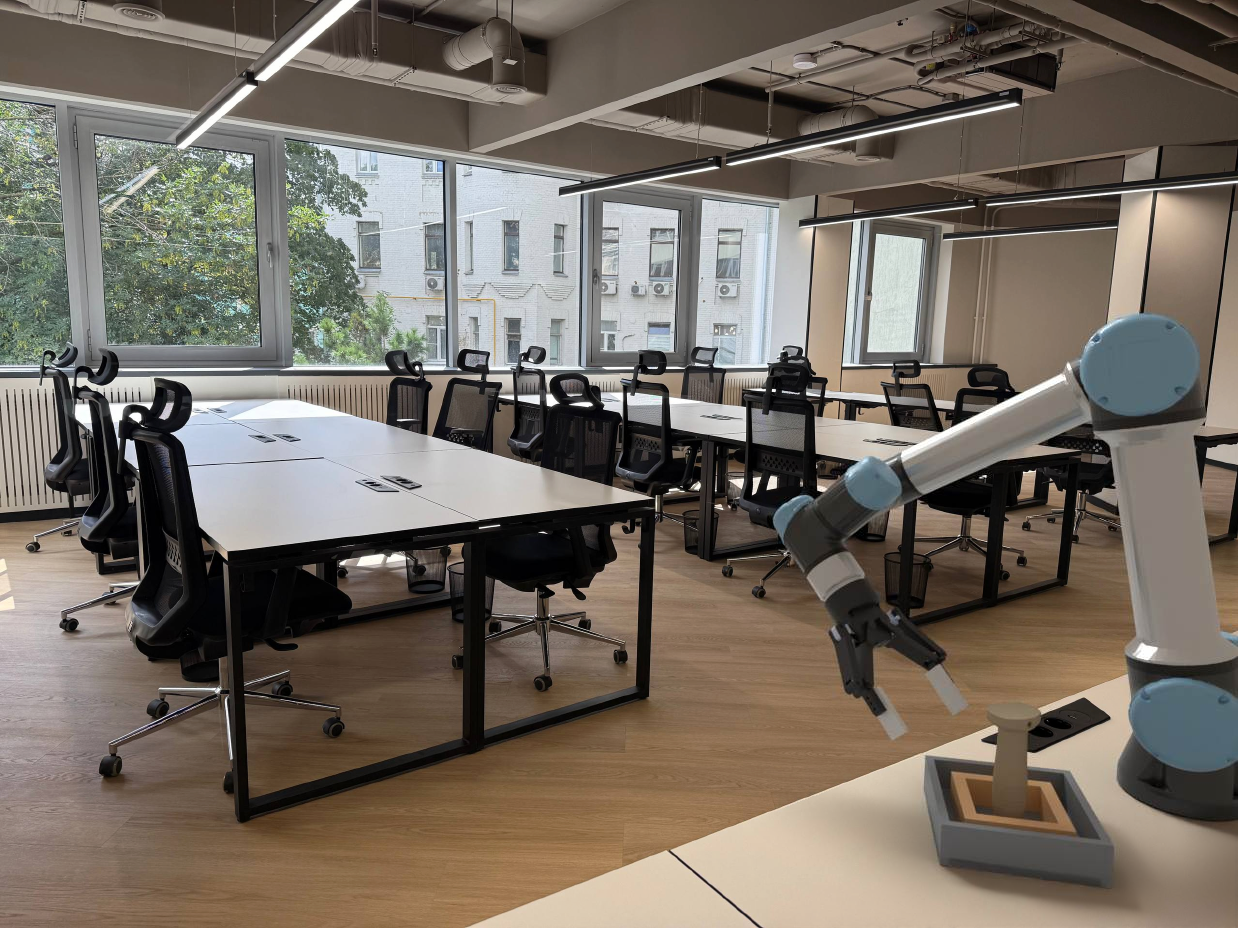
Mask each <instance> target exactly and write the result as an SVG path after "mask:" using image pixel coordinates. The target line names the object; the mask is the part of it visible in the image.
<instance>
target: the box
mask: <svg viewBox="0 0 1238 928" xmlns="http://www.w3.org/2000/svg"><path fill="white" fill-rule="evenodd" d="M994 763H995V761H994V762H993V761H984V760H975V759H964V758H956V757H947V756H946V757H945V756H936V755H928V754H927V755H926V754H925V755H924V773H923V774H924V775H923V777H924V778H923V792H924V797H925V802H926V807H927V811H928V812H927V813H928V817H929V821H930V826H931V831H932V836H933V840H934V845H935V849H936V853H937V854H936V855H937V859H938V864H939V866H947V867H953V868H954V867H955V868H959V869H960V868H963V869H969V870H976V871H983V872H990V873H998V874H1005V875H1010V876H1011V875H1013V876H1019V877H1027V878H1034V879H1042V880H1046V881H1047V880H1049V881H1054V882H1055V881H1056V882H1062V883H1069V884H1077V885H1085V886H1091V887H1097V888H1098V887H1099V888H1106V889H1111V888H1112V881H1113V879H1112V878H1113V864H1114V849H1115V846H1114V844H1113V842H1112V841H1111V839H1110V837H1109V835H1108V834H1107V832H1106V830H1105V828H1104V827H1103V825H1102V824H1101V821H1100V820H1099V818H1098V816H1097V815H1096V813H1095V811H1094V810H1093V808H1092V806H1091V804H1090V803H1089V801H1088V799H1087V797H1086V795H1085V794H1084V792H1083V791H1082V789H1081V787H1080V786H1079V784H1078V782H1077V781H1076V778H1075V777H1074V775H1073V773H1072V772H1071V770H1066V769H1059V768H1048V767H1039V766H1037V767H1036V766H1031V765H1027V773H1028V786H1027V799H1026V806H1025V811H1024V815H1023V819H1017V818H1008V817H1000V816H993V815H995V812H994V810H993V802H992V784H993V783H992V781H993V771H994Z"/></svg>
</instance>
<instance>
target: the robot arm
mask: <svg viewBox="0 0 1238 928" xmlns="http://www.w3.org/2000/svg"><path fill="white" fill-rule="evenodd" d="M1200 367H1201V353H1200V349H1199V345H1198V342H1197V341H1196V339H1195V337H1194V336H1193V334H1192V333H1191V332H1190V331H1189V330H1188V328H1187V327H1185V326H1184V324H1182V323H1180V322H1179V321H1177V320H1176V319H1174V318H1171V317H1169V316H1165V315H1162V314H1161V313H1160V314H1159V313H1152V312H1151V313H1150V312H1143V313H1131V314H1128V315H1125V316H1122V317H1118V318H1115V319H1114V320H1111V321H1109V322H1107V323H1106V324H1105V325H1103V326H1101V328H1099V329H1098V330H1097V331H1096V332H1095V333H1094V334H1093V335H1092V336H1091V338H1090V339H1089V340H1088V341H1087V344H1086V345H1085V346H1084V349H1083V352H1082V354H1081V355H1079V356H1077V357H1074V358H1073V359H1070V361H1067V362H1066V364H1065V367H1064V369H1063V371H1062V372H1061V373H1060V374H1058V375H1055V376H1053V377H1051V378H1049V379H1047V380H1045V381H1043V382H1040V383H1039V384H1036V385H1035V386H1032V387H1031V388H1028V389H1027V390H1025V391H1023V392H1020V393H1019V394H1016V395H1015V396H1013V397H1010V398H1008V399H1006V400H1004V401H1003V402H1000V403H998V404H996V405H994V406H992V407H990V408H988V409H987V410H986V409H985V410H984V411H982V412H980V413H978V414H976V415H974V416H972V417H970V418H968V419H965V420H963V421H962V422H959V423H957V424H955V425H953V426H952V427H949V428H948V429H945V430H943V431H941V432H940V433H937V434H935V435H933V436H931V437H929V438H927V439H924V440H923V441H921V442H919V443H917V444H915V445H913V446H911V447H909V448H907V449H905V450H903V451H902V452H898V453H897V454H894V455H892V456H890V457H888V458H886V459H884V460H882V459H880V458H877V457H875V456H873V455H867V456H864V457H863V458H861V459H860V460H859V461H857V462H856V463H855V464H854V465H851V466H850V467H849V468H847V470H846V472H845V473H843V475H840V477H839V478H838V479H837V480H835V481H834V482H833V483H831V485H830V486H829V487H828V488H827V489H826V490H825V491H823V492H822V493H821V494H820V495H819V496H817V498H815V499H814V498H813V496H810V495H807V494H805V495H804V494H803V495H798V496H796V497H794V498H792V499H790V500H789V501H788V502H785V503H783V504H782V505H781V506H780V507H779V508H778V509H777V510H776V512H775V513H774V516H773V518H772V520H773V521H772V523H773V526H774V528H775V530H776V532H777V534H778V535H779V537H780V539H781V542H782V544H783V545H784V546H785V548H786V549H787V550H788V552H789V553H790V554H791V556H792V558H793V559H794V560H795V562H796V564H797V565H798V567H799V568H800V570H801V571H802V572H803V574H804V576H805V578H806V579H807V581H808V582H809V584H810V585H811V587H812V588H813V590H814V592H815V593H816V594H817V597H818V598H819V599H820V601H822V602H824V608H825V610H826V611H827V613H828V614H829V616H830V618H831V619H832V621H833V623H834V624H835V625H834V626H833V627H832V628H830V629H829V630H828V635H829V638H830V639H831V641H832V643H833V646H834V649H835V655H836V657H837V658H836V659H837V663H838V667H839V670H840V671H839V673H840V676H841V680H842V686H843V691H844V692H845V694H847V695H852V696H853V697H854V699H858V700H859V699H860V698H862V699H863V700H864V701H865V703H866V705H867V707H868V709H869V710H870V711H871V714H872V715H873V716H874V717H875V718H877V719H878V720H879V722H880V724H881V725H882V726H883V729H884V730H885V731H886V733H887V734H888V735H887V736H888V737H889V738H890V740H891V741H892V742H893V741H895V740H897V739H899V738H900V737H901V736H903V735H904V734H906V733H907V732H909V731H910V730H909V729H908V727H907V725H906V723H905V722H904V721H903V719H902V718H901V716H900V715H899V713H898V711H897V710H896V708H895V707H894V705H893V703H892V702H891V700H890V699H889V697H888V696H887V694H886V692H885V691H884V689H883V687H882V686H881V685H878V686H875V677H874V675H875V673H874V650H875V649H876V648H878V649H880V648H883V647H885V648H887V649H892V650H894V651H896V652H898V653H899V654H900V655H902V656H904V657H906V658H907V659H908V660H910V661H911V662H914V663H915V664H916V665H918V666H920V667H921V668H923V669H924V670H926V671H927V672H925V673H924V675H925V677H926V679H927V680H928V681H929V682H930V685H932V687H933V689H934V690H935V692H936V694H938V696H939V697H940V699H941V700H942V702H943V704H944V705H945V707H946V708H947V709H948V711H949V712H950V714H951V715H952V716H955V715H956V714H959V713H960V712H961V711H963V710H965V708H967V707H969V704H968V702H967V701H966V699H965V698H964V697H963V694H961V692H960V690H959V689H958V687H957V686H956V685H955V683H954V680H953V678H952V677H951V676H950V674H949V673H948V671H947V670H946V669H945V667H944V666H943V663H944V662H945V661H946V659H947V658H946V657H947V656H948V655H947V652H946V651H945V650H944V649H943V648H942V647H941V646H940V645H939V644H937V643H936V642H935V641H934V640H932V639H931V637H929V636H928V635H927V634H926V633H925V632H923V630H921V629H920V628H918V627H917V625H915V624H914V623H913V622H911V621H910V620H909V619H908V618H907V617H906V615H905V614H904V613H903V612H902V611H901V609H900V608H899V607H898V606H893V607H892V608H891V609H890V610H889V611H887V612H885V611H884V610H883V609H882V608H881V605H880V602H881V595H880V594H879V593H878V592H877V590H876V589H875V587H874V586H873V584H872V583H871V581H870V580H869V579H867V578H865V576H866V575H865V572H864V570H863V569H862V567H861V566H860V564H859V563H858V562H857V560H856V558H855V557H854V556H853V554H852V553H851V552H850V550H849V549H848V547H847V546H846V544H845V541H846V540H847V539H849V538H850V537H851V536H853V534H855V533H856V532H857V531H859V529H860V530H861V528H862V527H864V526H865V525H866V524H868V523H869V522H870V521H871V520H873V519H874V518H877V517H878V516H881V515H883V514H885V513H887V512H890V511H892V510H895V509H897V508H899V507H902V506H904V505H905V504H907V503H910V502H912V501H914V500H915V499H919V498H921V497H922V496H924V495H927V494H929V493H931V492H934V491H935V490H937V489H940V488H943V487H944V486H947V485H949V484H951V483H953V482H955V481H956V482H957V481H958V480H960V479H962V478H964V477H967V476H969V475H971V474H974V473H975V472H978V471H980V470H983V469H985V468H987V467H989V466H991V465H993V464H995V463H998V462H1000V461H1002V460H1005V459H1007V458H1009V457H1011V456H1013V455H1016V454H1017V453H1020V452H1022V451H1025V450H1027V449H1030V448H1032V447H1034V446H1036V445H1038V444H1040V443H1042V442H1045V441H1048V440H1049V439H1051V438H1054V437H1056V436H1058V435H1060V434H1062V433H1065V432H1068V431H1070V430H1071V429H1074V428H1076V427H1078V426H1081V425H1083V424H1085V423H1087V422H1091V424H1092V431H1093V434H1094V435H1096V436H1097V437H1098V438H1100V439H1101V440H1102V441H1104V442H1105V443H1106V444H1108V446H1109V449H1110V455H1111V456H1110V457H1111V462H1112V469H1113V470H1112V471H1113V472H1112V473H1113V477H1114V478H1113V479H1114V484H1115V485H1114V486H1115V492H1116V498H1117V499H1116V500H1117V505H1118V512H1119V519H1120V520H1119V521H1120V526H1121V527H1120V528H1121V534H1122V542H1123V548H1124V549H1123V550H1124V555H1125V561H1126V570H1127V577H1128V583H1129V590H1130V597H1131V604H1132V605H1131V606H1132V612H1133V617H1134V618H1133V619H1134V626H1135V633H1136V634H1135V637H1134V638H1132V640H1130V641H1129V643H1128V644H1127V645H1126V646H1125V647H1124V653H1125V654H1124V655H1125V656H1124V657H1125V663H1126V670H1127V676H1128V678H1127V679H1128V683H1129V684H1128V686H1129V691H1130V702H1129V705H1128V706H1129V708H1128V710H1127V711H1128V712H1127V715H1128V721H1129V724H1130V726H1131V730H1132V733H1131V734H1130V736H1129V739H1128V740H1127V743H1126V744H1125V746H1124V748H1123V750H1122V753H1121V754H1120V756H1119V758H1118V760H1117V764H1116V765H1117V766H1116V767H1117V768H1116V781H1117V783H1118V785H1119V786H1120V787H1121V788H1122V789H1123V790H1124V791H1125V792H1127V793H1128V794H1129V795H1131V796H1132V797H1134V798H1135V799H1138V800H1139V801H1141V802H1143V803H1145V804H1146V805H1150V806H1152V807H1154V808H1157V809H1159V810H1161V811H1162V810H1163V811H1165V812H1168V813H1171V814H1174V815H1178V816H1182V817H1186V818H1192V819H1198V820H1204V821H1205V820H1206V821H1232V820H1238V635H1236V634H1233V633H1230V632H1227V631H1223V630H1221V624H1220V617H1219V609H1218V603H1217V596H1216V595H1217V594H1216V588H1215V587H1216V586H1215V581H1214V580H1215V579H1214V575H1213V566H1212V560H1211V554H1210V547H1209V544H1210V543H1209V538H1208V532H1207V524H1206V517H1205V511H1204V503H1203V497H1202V488H1201V482H1200V481H1201V480H1200V475H1199V468H1198V461H1197V453H1196V445H1195V440H1194V439H1195V438H1194V436H1195V434H1196V432H1197V431H1198V430H1199V429H1200V428H1201V426H1203V424H1204V423H1205V422H1206V421H1207V418H1208V417H1207V411H1206V405H1205V404H1206V403H1205V396H1204V390H1203V382H1202V374H1201V369H1200Z"/></svg>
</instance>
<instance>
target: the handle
mask: <svg viewBox="0 0 1238 928" xmlns="http://www.w3.org/2000/svg"><path fill="white" fill-rule="evenodd" d="M986 719H987V720H988V722H989V723H991V724H992V725H994V726H995V727H997V740H996V747H995V748H996V749H995V757H994V771H993V781H992V783H993V784H992V802H993V810H994V812H995V815H993V816H1000V817H1008V818H1017V819H1023V815H1024V811H1025V806H1026V799H1027V786H1028V773H1027V766H1028V735H1029V731H1032V730H1034V729H1035V728H1036V727H1037V726H1038V725H1039V724H1040V722H1041V719H1042V711H1041V709H1038V708H1037V707H1036V706H1033V705H1030V704H1027V703H1023V702H1013V701H1006V702H1005V701H1004V702H998V703H993V704H991V705H990V706H988V707H987V708H986Z"/></svg>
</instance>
